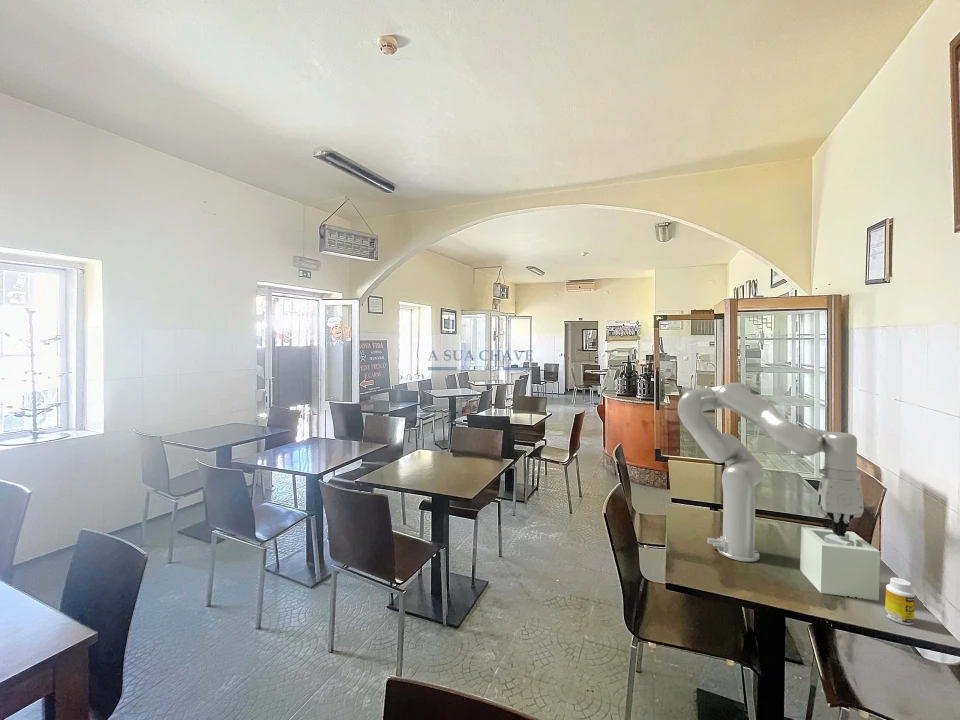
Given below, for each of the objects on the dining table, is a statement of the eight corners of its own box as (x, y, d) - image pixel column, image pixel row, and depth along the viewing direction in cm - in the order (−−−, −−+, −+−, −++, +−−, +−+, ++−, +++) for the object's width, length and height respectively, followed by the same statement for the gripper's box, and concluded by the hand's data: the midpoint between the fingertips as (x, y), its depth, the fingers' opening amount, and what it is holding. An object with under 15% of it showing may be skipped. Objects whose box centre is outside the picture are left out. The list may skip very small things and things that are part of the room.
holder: (820, 592, 128) (822, 545, 128) (800, 570, 142) (801, 526, 141) (878, 600, 124) (880, 551, 124) (851, 576, 138) (853, 532, 138)
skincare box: (821, 574, 135) (822, 535, 135) (830, 571, 137) (831, 533, 136) (845, 584, 129) (846, 543, 129) (853, 581, 131) (854, 540, 131)
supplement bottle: (907, 628, 112) (908, 588, 112) (880, 616, 117) (881, 578, 117) (918, 623, 114) (919, 584, 114) (891, 611, 119) (892, 574, 119)
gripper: (816, 475, 131) (815, 536, 131) (877, 479, 127) (876, 542, 127) (805, 468, 138) (804, 527, 138) (862, 472, 134) (861, 532, 134)
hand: (838, 534), depth 133 cm, fingers closed
